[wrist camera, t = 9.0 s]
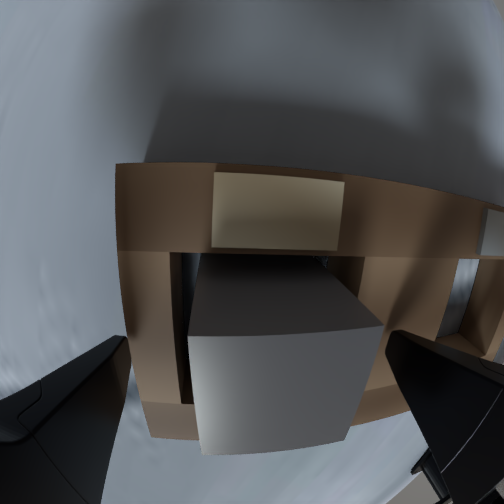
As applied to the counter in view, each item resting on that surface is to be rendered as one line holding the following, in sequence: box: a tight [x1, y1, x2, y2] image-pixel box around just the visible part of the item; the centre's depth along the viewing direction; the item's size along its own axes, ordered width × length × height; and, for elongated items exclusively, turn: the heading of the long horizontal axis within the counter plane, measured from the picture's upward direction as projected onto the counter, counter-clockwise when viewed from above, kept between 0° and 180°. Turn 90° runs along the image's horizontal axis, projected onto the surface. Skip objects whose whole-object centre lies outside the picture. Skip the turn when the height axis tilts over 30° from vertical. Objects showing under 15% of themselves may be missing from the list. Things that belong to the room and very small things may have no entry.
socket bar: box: [115, 162, 504, 440], centre depth 11 cm, size 11×20×3 cm, turn 86°
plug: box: [188, 253, 385, 455], centre depth 9 cm, size 4×4×6 cm
